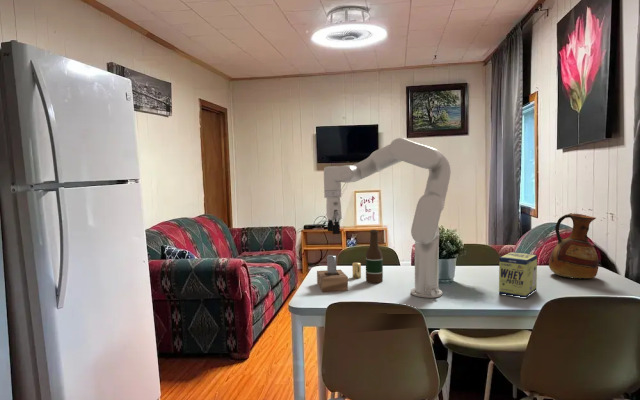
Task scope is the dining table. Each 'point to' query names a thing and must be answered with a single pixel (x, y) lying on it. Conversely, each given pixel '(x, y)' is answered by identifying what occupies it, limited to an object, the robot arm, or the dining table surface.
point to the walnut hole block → (332, 281)
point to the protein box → (517, 274)
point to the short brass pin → (356, 270)
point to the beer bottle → (374, 260)
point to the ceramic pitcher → (574, 250)
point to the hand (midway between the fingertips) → (333, 232)
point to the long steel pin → (331, 265)
